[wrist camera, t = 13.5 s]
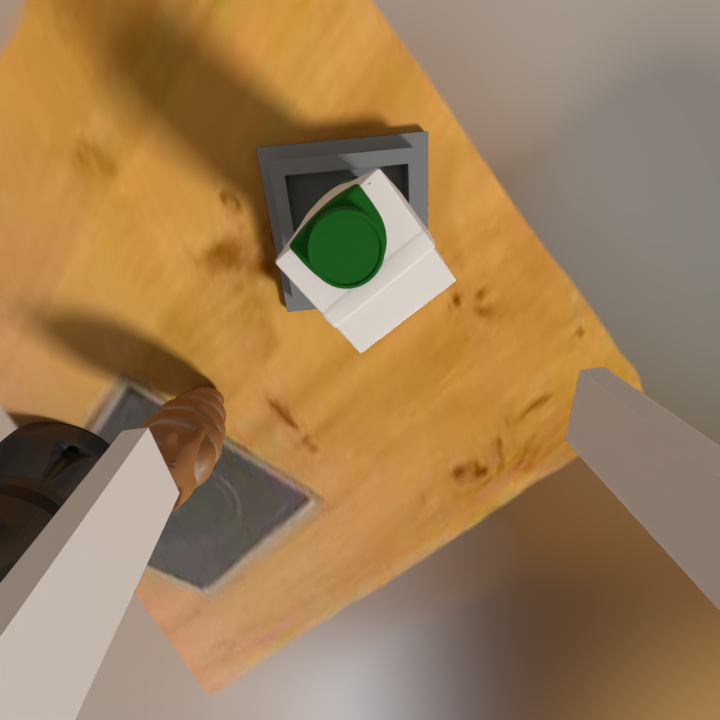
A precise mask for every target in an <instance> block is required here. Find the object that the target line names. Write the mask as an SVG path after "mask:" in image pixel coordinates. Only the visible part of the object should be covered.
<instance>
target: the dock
mask: <svg viewBox="0 0 720 720" xmlns="http://www.w3.org/2000/svg"><path fill="white" fill-rule="evenodd" d="M256 150H257V155H258V161H259V166H260V171H261V176H262V182H263V187H264V192H265V197H266V203H267V208H268V213H269V218H270V223H271V229H272V234H273V239H274V244H275V250H276V255H277V257H278V256H279V255H280V253H281V252H282V250H283V249H284V248H285V246H286V245H287V243H288V242H289V240H290V239H291V238H292V236H293V235H294V233H295V232H296V230H297V229H298V228H299V226H300V225H301V223H302V221H303V220H304V218H305V216H306V215H307V213H308V211H309V210H310V209H311V207H312V206H313V205H314V204H315V203H316V202H317V200H318V199H320V198H321V197H322V196H323V195H324V194H325V193H326V192H327V191H329V190H330V189H331V188H333V187H334V186H335V185H337V184H339V183H340V182H343V181H345V180H348V179H351V178H353V177H355V176H357V177H361V176H362V175H364V174H366V173H368V172H370V171H372V170H374V169H376V168H378V169H380V170H381V171H382V172H383V173H384V174H385V175H386V176H387V177H388V179H389V180H390V181H391V182H392V183H393V184H394V185H395V186H396V187H397V189H398V190H399V191H400V192H401V193H402V195H403V196H404V197H405V199H406V200H407V202H408V203H409V204H410V206H411V207H412V209H413V210H414V212H415V213H416V214H417V216H418V217H419V219H420V220H421V221H422V222H423V224H424V225H425V227H426V228H427V230H428V131H426V132H416V133H405V134H395V135H384V136H374V137H363V138H353V139H342V140H331V141H321V142H310V143H300V144H289V145H279V146H268V147H258V148H256ZM279 271H280V276H281V281H282V286H283V291H284V297H285V302H286V307H287V312H292V311H301V310H310V309H317V308H316V307H315V306H314V305H313V304H312V303H311V302H310V301H309V299H308V298H307V297H306V296H305V295H304V294H303V293H302V292H301V291H300V290H299V289H298V287H297V286H296V285H295V284H294V283H293V282H292V281H291V280H290V279H289V278H288V276H287V275H286V274H285V273H284V272H283V271H282V270H281V269H280V268H279Z"/></svg>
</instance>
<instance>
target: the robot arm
mask: <svg viewBox="0 0 720 720" xmlns="http://www.w3.org/2000/svg"><path fill="white" fill-rule="evenodd" d="M565 440H566V442H567V443H568V444H569V445H570V446H571V447H572V448H573V449H574V450H575V452H576V453H577V454H578V455H579V456H580V457H581V458H582V459H583V460H584V461H585V463H586V464H587V465H588V466H589V467H590V468H591V469H592V470H593V471H594V472H595V474H596V475H597V476H598V477H599V478H600V479H601V480H602V481H603V482H604V483H605V485H606V486H607V487H608V488H609V489H610V490H611V491H612V492H613V493H614V495H615V496H617V498H618V499H619V500H620V501H621V502H622V503H623V504H624V506H625V507H626V508H627V509H628V510H629V511H630V512H631V513H632V514H633V515H634V517H635V518H636V519H637V520H638V521H639V522H640V523H641V524H642V525H643V526H644V528H645V529H646V530H647V531H648V532H649V533H650V534H651V535H652V536H653V538H654V539H655V540H656V541H657V542H658V543H659V544H660V545H661V546H662V547H663V549H664V550H665V551H666V552H667V553H668V554H669V555H670V556H671V557H672V558H673V559H674V560H675V562H676V563H677V564H678V565H679V566H680V567H681V568H682V570H683V571H685V573H686V574H687V575H688V576H689V577H690V578H691V579H692V581H693V582H694V583H695V584H696V585H697V586H698V587H699V588H700V589H701V590H702V592H703V593H704V594H705V595H706V596H707V597H708V598H709V599H710V600H711V602H712V603H713V604H714V605H715V606H716V607H717V608H718V609H719V610H720V446H719V445H717V444H716V443H715V442H713V441H712V440H710V439H709V438H707V437H706V436H704V435H703V434H701V433H700V432H699V431H697V430H696V429H694V428H692V427H691V426H689V425H688V424H687V423H685V422H684V421H682V420H681V419H680V418H678V417H677V416H675V415H674V414H672V413H671V412H669V411H668V410H666V409H665V408H663V407H662V406H660V405H659V404H658V403H656V402H655V401H653V400H652V399H650V398H649V397H647V396H646V395H644V394H643V393H642V392H640V391H639V390H637V389H636V388H634V387H633V386H631V385H630V384H628V383H627V382H625V381H624V380H623V379H621V378H620V377H618V376H617V375H615V374H614V373H612V372H611V371H609V370H608V369H607V368H605V367H600V368H592V369H585V370H580V372H579V377H578V381H577V386H576V391H575V395H574V400H573V405H572V409H571V414H570V419H569V424H568V428H567V433H566V438H565ZM179 494H180V493H179V491H178V489H177V487H176V485H175V483H174V480H173V478H172V476H171V474H170V472H169V470H168V468H167V466H166V464H165V461H164V459H163V457H162V455H161V453H160V451H159V449H158V447H157V445H156V442H155V440H154V438H153V436H152V434H151V432H150V430H149V428H141V429H133V430H126V431H122V432H121V433H120V434H119V436H118V437H117V438H116V439H115V441H114V442H113V443H112V444H111V446H109V445H108V444H106V443H105V442H104V441H103V440H101V439H100V438H98V437H96V436H95V435H93V434H91V433H89V432H87V431H84V430H82V429H79V428H76V427H73V426H69V425H65V424H59V423H35V424H30V425H26V426H23V427H21V428H19V429H17V430H15V431H14V432H12V433H11V434H10V435H8V436H7V437H6V438H5V439H4V440H2V441H1V442H0V720H75V719H76V716H77V714H78V712H79V710H80V708H81V706H82V703H83V701H84V699H85V697H86V695H87V693H88V690H89V688H90V686H91V684H92V682H93V680H94V677H95V675H96V673H97V671H98V669H99V666H100V664H101V662H102V660H103V658H104V656H105V654H106V651H107V649H108V647H109V645H110V643H111V641H112V638H113V636H114V634H115V632H116V629H117V627H118V625H119V623H120V621H121V619H122V617H123V615H124V613H125V610H126V608H127V606H128V604H129V602H130V600H131V597H132V595H133V593H134V591H135V589H136V587H137V584H138V582H139V580H140V578H141V576H142V574H143V571H144V569H145V567H146V565H147V563H148V561H149V558H150V556H151V554H152V552H153V550H154V548H155V545H156V543H157V541H158V539H159V537H160V535H161V532H162V530H163V528H164V526H165V524H166V522H167V519H168V517H169V515H170V513H171V511H172V509H173V507H174V504H175V502H176V500H177V498H178V496H179Z"/></svg>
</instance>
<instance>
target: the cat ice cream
mask: <svg viewBox="0 0 720 720" xmlns="http://www.w3.org/2000/svg"><path fill="white" fill-rule="evenodd" d="M223 403H224V398H223V396H222V395H221V393H220V392H219V391H217V390H215V389H213V388H210V387H198V388H195V389H193V390H192V391H188V392H185V393H182V394H180V395H178V396H177V397H176V398H175V399H172V400H170V401H168V402H166V403H165V404H163V405H162V406H161V408H160V409H159V411H158V413H156V414H155V415H153V416H151V417H150V418H148V419H147V420H146V421H145V422H144V423H143V424H142V425H141V427H140V429H141V428H149V430H150V432H151V434H152V436H153V438H154V440H155V442H156V445H157V447H158V449H159V451H160V453H161V455H162V457H163V459H164V461H165V464H166V466H167V468H168V470H169V472H170V474H171V476H172V478H173V480H174V483H175V485H176V487H177V489H178V491H179V493H180V494H179V496H178V498H177V500H176V502H175V504H174V507H173V509H172V510H174V509H178V507H179V506H180V505H182V504H183V503H184V502H185V501H186V500H187V499H188V498H189V497H190V495H191V494H192V492H193V490H194V488H196V487H198V486H199V485H201V484H202V483H203V482H204V481H206V480H207V478H208V477H209V476H210V474H211V472H212V470H213V467H214V465H215V463H216V462H217V461H218V460H219V458H220V456H221V452H222V445H223V439H224V436H225V419H226V412H225V409H224V407H223Z"/></svg>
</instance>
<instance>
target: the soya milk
mask: <svg viewBox="0 0 720 720" xmlns="http://www.w3.org/2000/svg"><path fill="white" fill-rule="evenodd" d="M275 261H276V264H277V266H278V267H279V268H280V269H281V270H282V271H283V272H284V273H285V274H286V275H287V276H288V278H289V279H290V280H291V281H292V282H293V283H294V284H295V285H296V286H297V287H298V289H299V290H300V291H301V292H302V293H303V294H304V295H305V296H306V297H307V298H308V299H309V301H310V302H311V303H312V304H313V305H314V306H315V307H316V308H317V309H318V310H319V312H320V313H321V314H322V315H323V317H324V318H325V319H326V320H327V321H328V322H329V323H330V324H331V325H332V326H333V327H334V328H335V327H336V328H337V329H338V330H339V331H340V332H341V333H342V334H343V335H344V336H345V337H346V339H347V340H348V341H349V342H350V343H351V344H352V345H353V346H354V347H355V348H356V349H357V350H358V351H359V352H360V353H362V352H363V351H365V350H366V349H367V348H369V347H370V346H371V345H372V344H374V343H375V342H376V341H378V340H379V339H380V338H382V337H383V336H384V335H386V334H387V333H388V332H389V331H391V330H392V329H393V328H395V327H396V326H397V325H399V324H400V323H401V322H403V321H404V320H405V319H407V318H408V317H409V316H410V315H412V314H413V313H414V312H416V311H417V310H418V309H420V308H421V307H422V306H424V305H425V304H426V303H427V302H429V301H430V300H431V299H433V298H434V297H435V296H437V295H438V294H439V293H441V292H442V291H443V290H444V289H446V288H447V287H448V286H450V285H451V284H452V283H454V282H455V281H456V280H455V278H454V276H453V275H452V273H451V271H450V270H449V268H448V267H447V265H446V264H445V262H444V260H443V259H442V257H441V256H440V254H439V253H438V251H437V250H436V248H435V244H434V240H433V238H432V236H431V234H430V232H429V231H428V230H427V228H426V227H425V225H424V224H423V222H422V221H421V220H420V219H419V217H418V216H417V214H416V213H415V212H414V210H413V209H412V207H411V206H410V204H409V203H408V202H407V200H406V199H405V197H404V196H403V195H402V193H401V192H400V191H399V190H398V189H397V187H396V186H395V185H394V184H393V183H392V182H391V181H390V180H389V179H388V177H387V176H386V175H385V174H384V173H383V172H382V171H381V170H380V169H378V168H376V169H374V170H372V171H370V172H368V173H366V174H364V175H362V176H361V177H357V176H355V177H353V178H351V179H348V180H345V181H343V182H340V183H339V184H337V185H335V186H334V187H333V188H331V189H330V190H329V191H327V192H326V193H325V194H324V195H323V196H322V197H321V198H320V199H318V200H317V202H316V203H315V204H314V205H313V206H312V207H311V209H310V210H309V211H308V213H307V215H306V216H305V218H304V220H303V221H302V223H301V225H300V226H299V228H298V229H297V230H296V232H295V233H294V235H293V236H292V238H291V239H290V240H289V242H288V243H287V245H286V246H285V248H284V249H283V250H282V252H281V253H280V255H279V256H278V257H277V259H276V260H275Z"/></svg>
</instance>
